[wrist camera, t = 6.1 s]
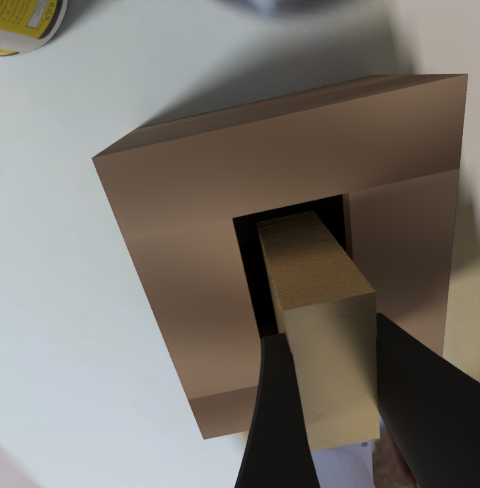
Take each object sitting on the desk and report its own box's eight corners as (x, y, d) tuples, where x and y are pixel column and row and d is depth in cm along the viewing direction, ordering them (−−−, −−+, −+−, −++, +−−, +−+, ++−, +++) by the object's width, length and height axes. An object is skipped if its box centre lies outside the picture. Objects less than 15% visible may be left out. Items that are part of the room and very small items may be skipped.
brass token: (325, 322, 14) (379, 438, 9) (278, 332, 14) (309, 452, 9) (313, 210, 12) (375, 291, 7) (256, 222, 12) (283, 310, 7)
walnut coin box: (379, 309, 19) (439, 391, 14) (206, 345, 19) (203, 439, 14) (374, 75, 14) (468, 73, 9) (135, 129, 14) (91, 157, 9)
